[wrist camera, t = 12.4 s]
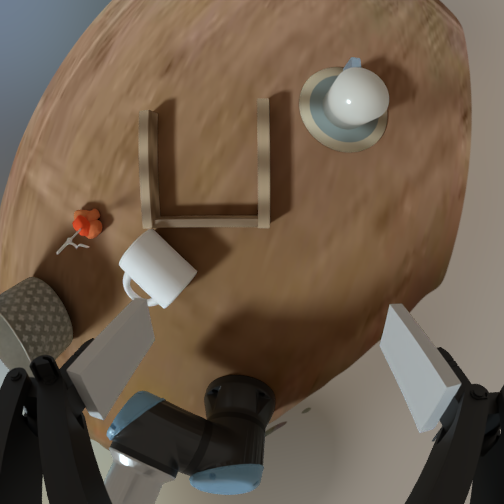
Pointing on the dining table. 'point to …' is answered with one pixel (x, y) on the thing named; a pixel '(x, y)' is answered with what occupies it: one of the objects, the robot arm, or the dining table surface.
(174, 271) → the mug
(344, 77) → the blue handled white cup
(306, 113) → the coaster
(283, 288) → the dining table surface
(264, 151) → the wooden u-shaped frame
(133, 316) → the robot arm
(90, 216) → the orange lump with branch
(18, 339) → the planter
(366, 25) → the dining table surface
